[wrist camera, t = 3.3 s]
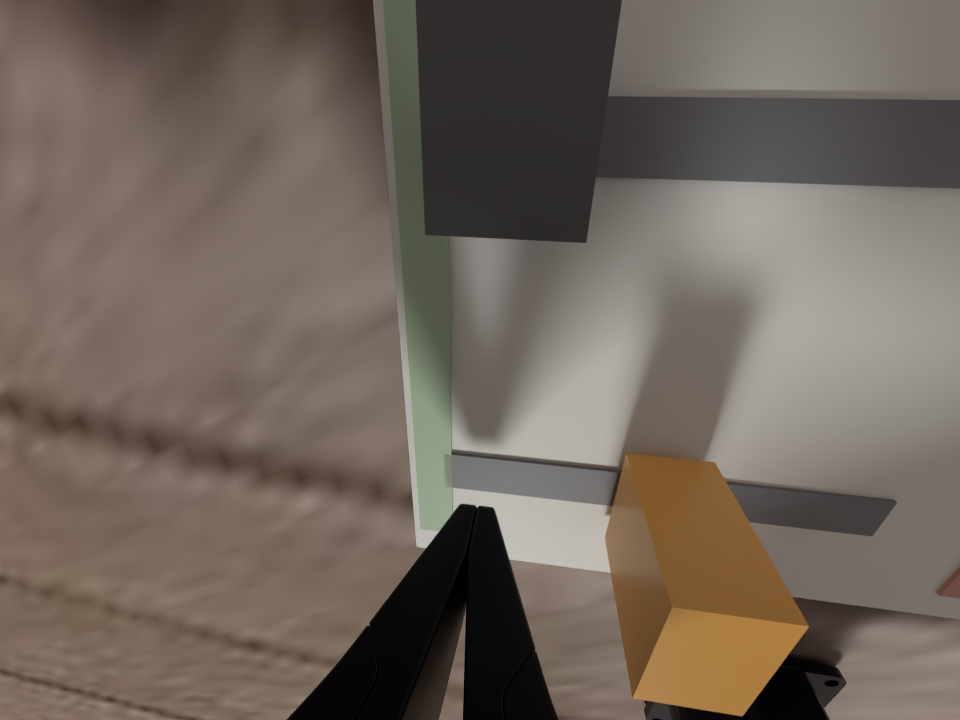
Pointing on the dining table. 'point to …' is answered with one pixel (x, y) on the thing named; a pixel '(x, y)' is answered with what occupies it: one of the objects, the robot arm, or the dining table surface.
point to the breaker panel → (685, 272)
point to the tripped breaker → (694, 588)
